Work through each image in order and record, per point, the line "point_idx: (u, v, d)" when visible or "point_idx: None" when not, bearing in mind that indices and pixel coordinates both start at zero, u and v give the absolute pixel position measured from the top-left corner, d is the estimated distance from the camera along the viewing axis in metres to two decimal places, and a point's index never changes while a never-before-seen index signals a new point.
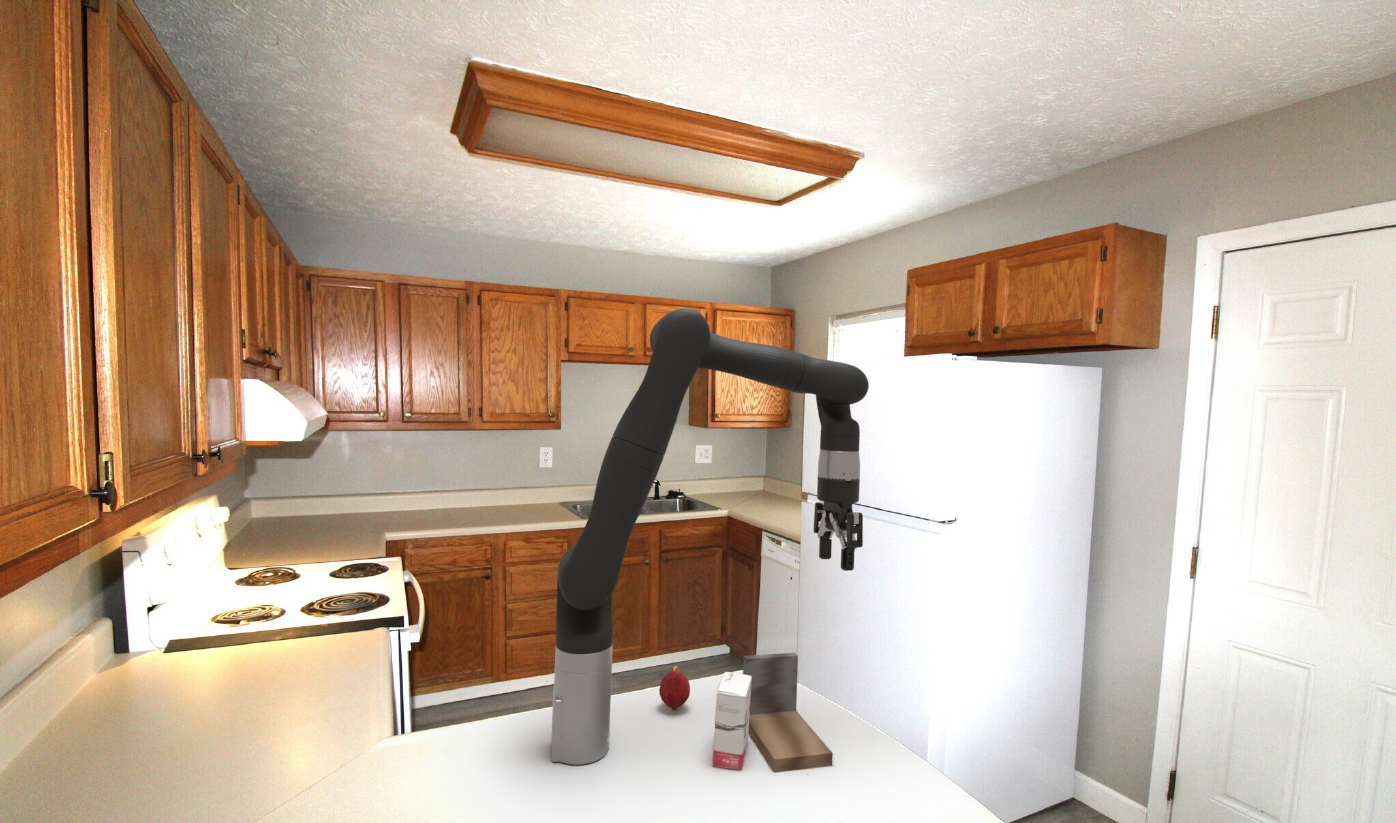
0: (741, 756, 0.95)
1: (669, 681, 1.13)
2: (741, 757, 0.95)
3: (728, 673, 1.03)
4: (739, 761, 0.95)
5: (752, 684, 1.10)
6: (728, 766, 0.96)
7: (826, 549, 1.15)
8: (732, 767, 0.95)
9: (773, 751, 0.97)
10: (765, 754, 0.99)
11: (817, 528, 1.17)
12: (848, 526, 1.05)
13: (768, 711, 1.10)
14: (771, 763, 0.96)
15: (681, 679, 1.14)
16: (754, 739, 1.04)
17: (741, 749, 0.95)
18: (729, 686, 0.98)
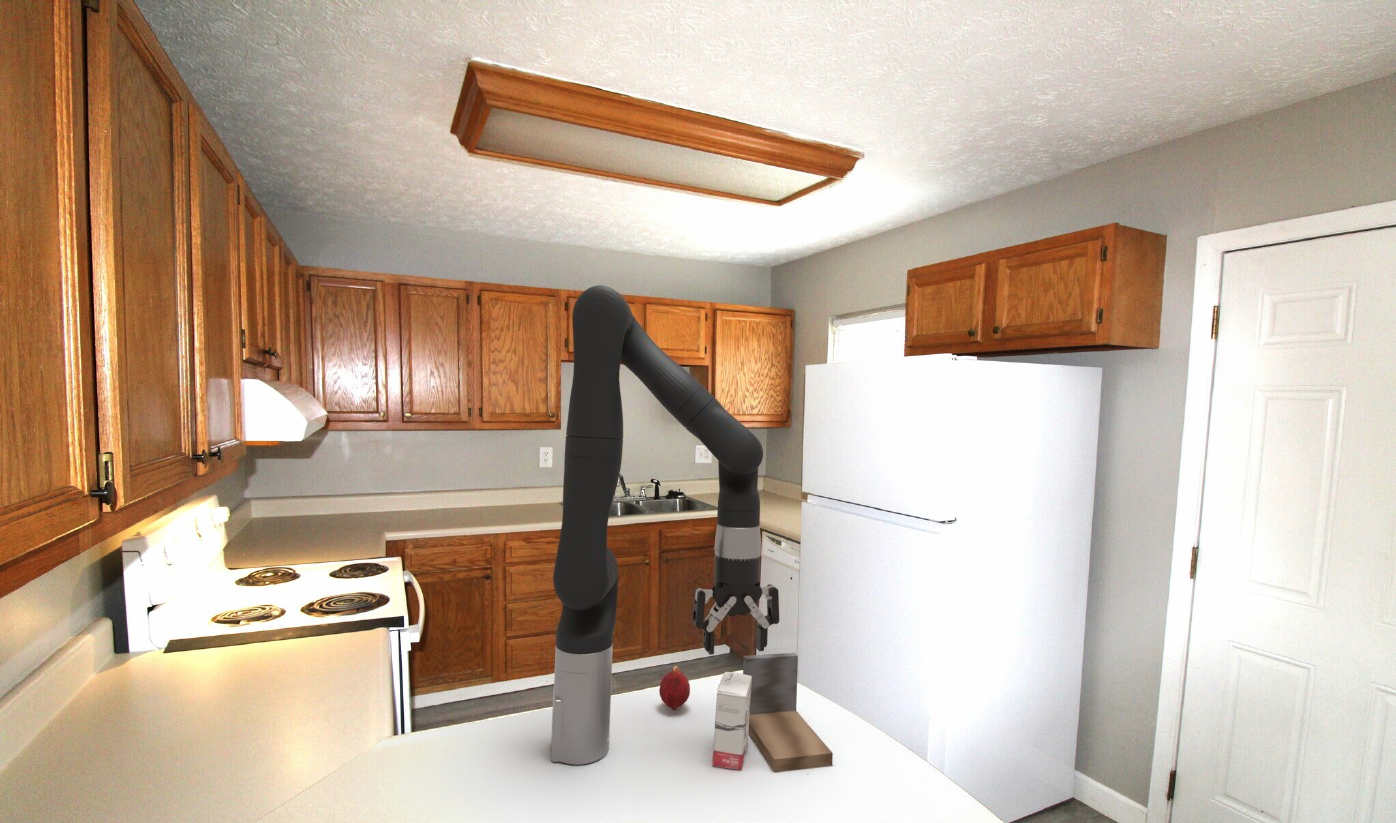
0: (741, 756, 0.95)
1: (669, 681, 1.13)
2: (741, 757, 0.95)
3: (728, 673, 1.03)
4: (739, 761, 0.95)
5: (752, 684, 1.10)
6: (728, 766, 0.96)
7: None
8: (732, 767, 0.95)
9: (773, 751, 0.97)
10: (765, 754, 0.99)
11: None
12: (776, 602, 1.01)
13: (768, 711, 1.10)
14: (771, 763, 0.96)
15: (681, 679, 1.14)
16: (754, 739, 1.04)
17: (741, 749, 0.95)
18: (729, 686, 0.98)
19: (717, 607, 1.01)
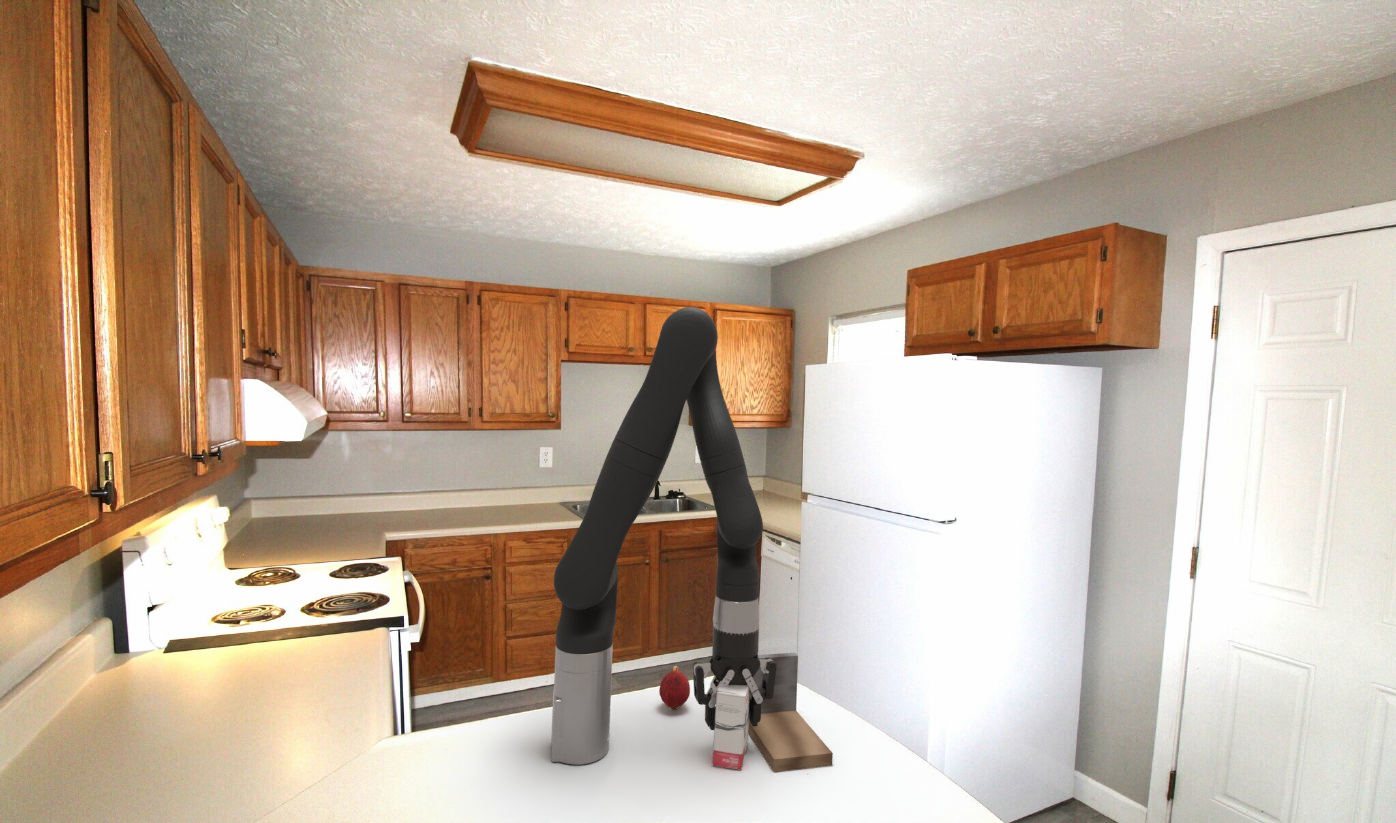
0: (741, 756, 0.95)
1: (669, 681, 1.13)
2: (741, 757, 0.95)
3: None
4: (739, 761, 0.95)
5: None
6: (728, 766, 0.96)
7: None
8: (732, 767, 0.96)
9: (773, 751, 0.97)
10: (765, 754, 0.99)
11: None
12: (772, 677, 1.00)
13: (768, 711, 1.10)
14: (771, 763, 0.96)
15: (681, 679, 1.14)
16: (754, 739, 1.04)
17: (741, 749, 0.95)
18: (729, 686, 0.98)
19: (717, 679, 1.01)
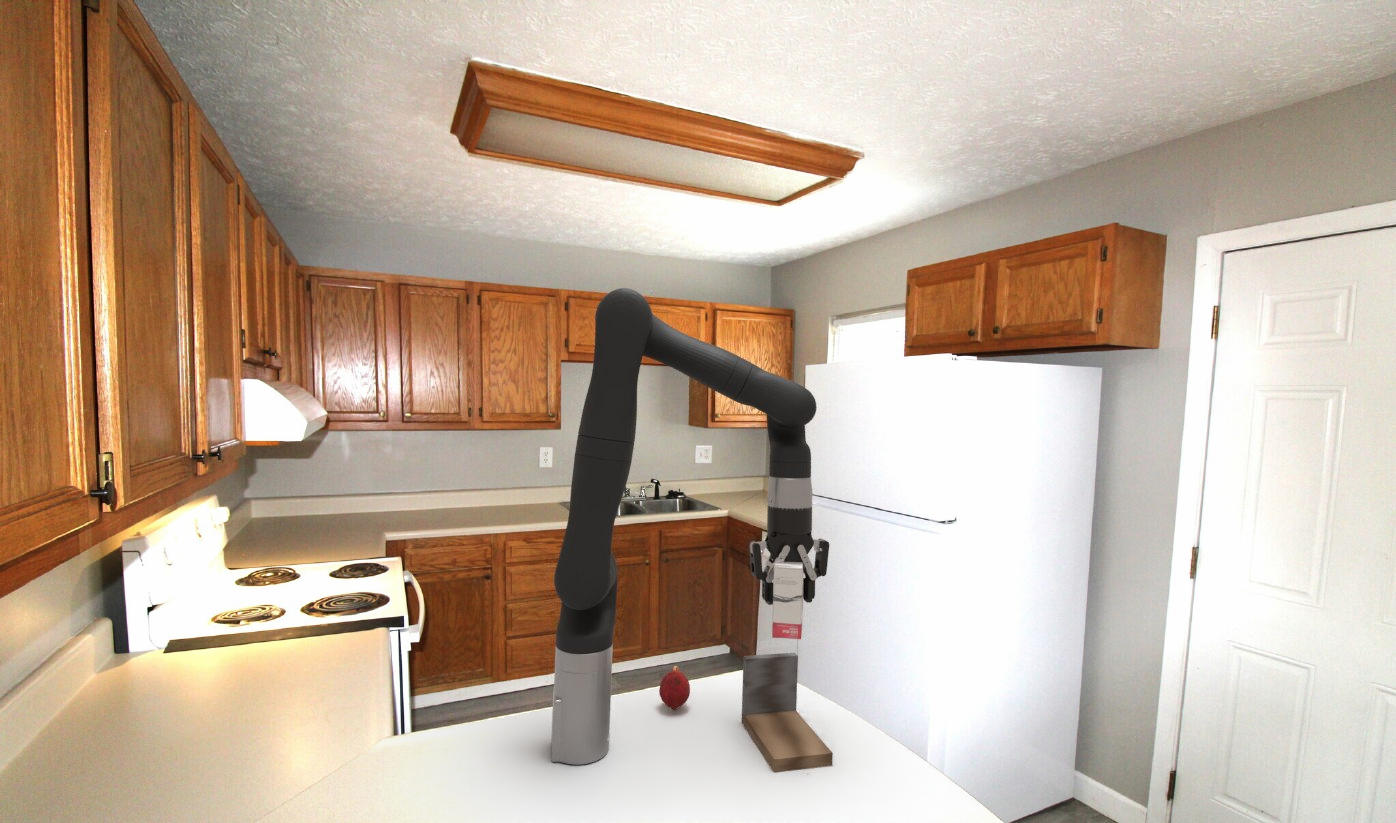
0: (800, 626, 0.99)
1: (669, 681, 1.13)
2: (800, 627, 0.99)
3: None
4: (798, 631, 0.99)
5: (752, 684, 1.10)
6: (788, 636, 0.99)
7: None
8: (792, 637, 0.99)
9: (773, 751, 0.97)
10: (765, 754, 0.99)
11: None
12: (825, 554, 1.04)
13: (768, 711, 1.10)
14: (771, 763, 0.96)
15: (681, 679, 1.14)
16: (754, 739, 1.04)
17: (800, 619, 0.99)
18: (784, 562, 1.01)
19: (772, 558, 1.04)
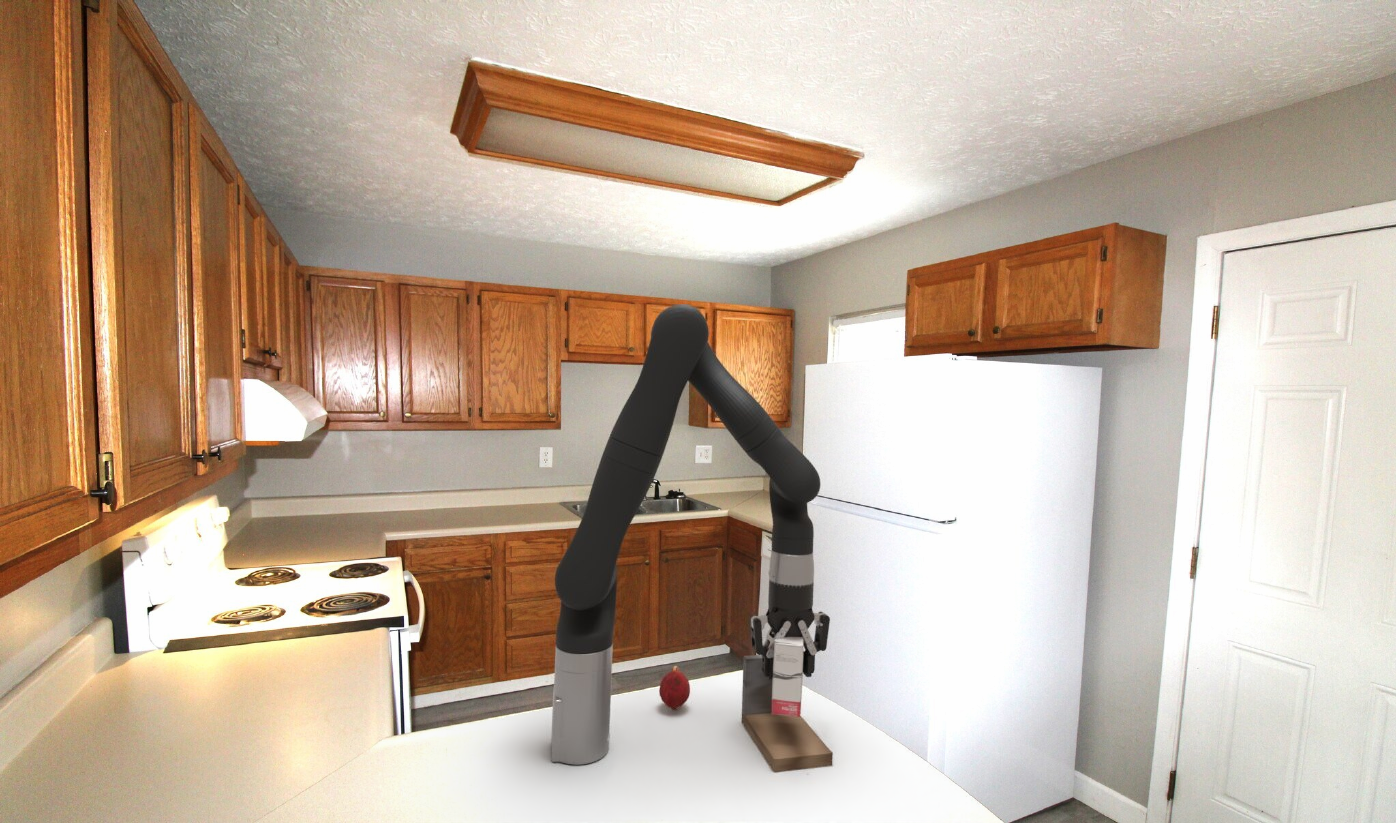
0: (800, 703, 0.99)
1: (669, 681, 1.13)
2: (800, 704, 0.99)
3: None
4: (798, 708, 0.99)
5: (752, 684, 1.10)
6: (787, 714, 0.99)
7: None
8: (791, 714, 0.99)
9: (773, 751, 0.97)
10: (765, 754, 0.99)
11: None
12: (826, 629, 1.04)
13: (768, 711, 1.10)
14: (771, 763, 0.96)
15: (681, 679, 1.14)
16: (754, 739, 1.04)
17: (799, 697, 0.99)
18: (785, 638, 1.02)
19: (772, 632, 1.04)
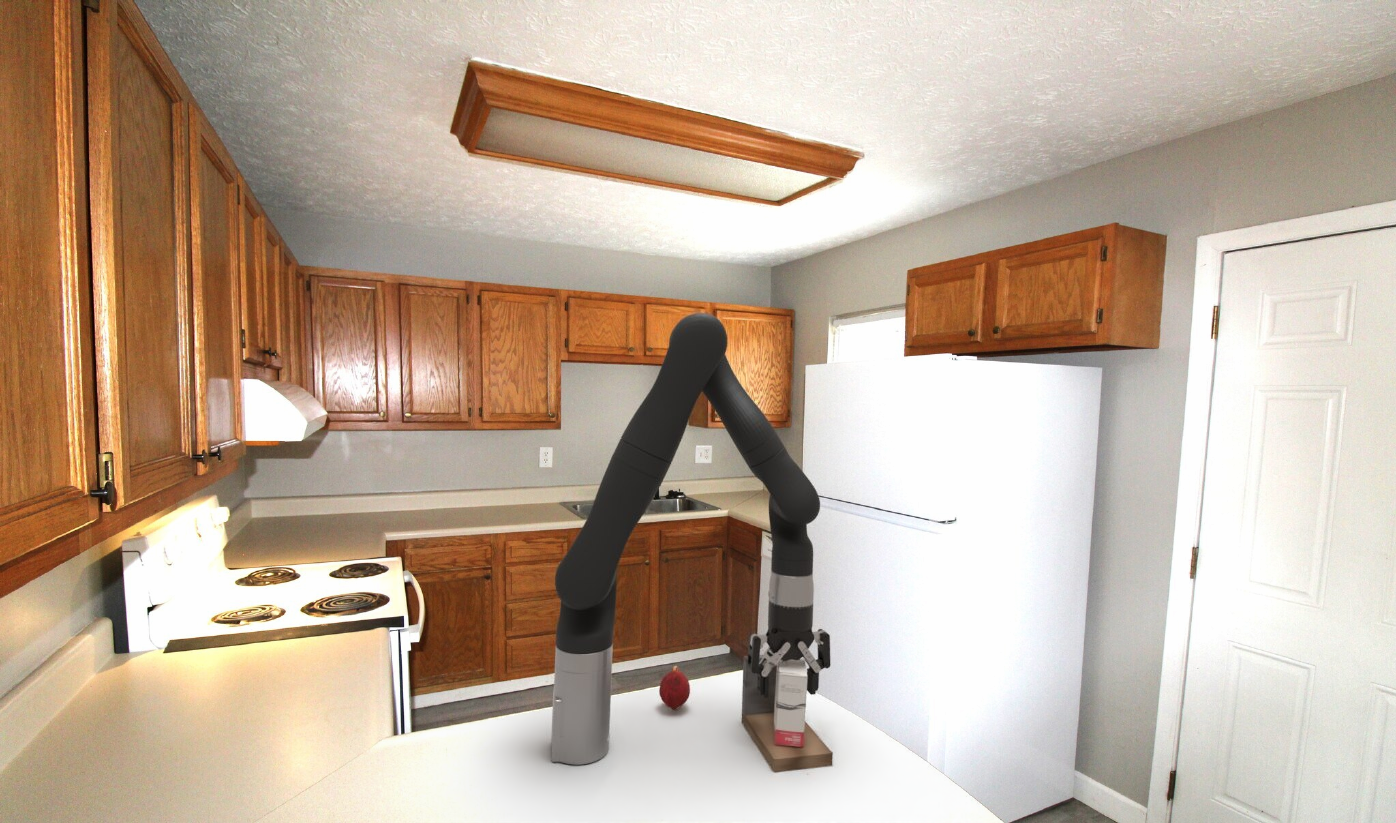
0: (803, 734, 0.99)
1: (669, 681, 1.13)
2: (803, 735, 0.99)
3: None
4: (801, 738, 0.99)
5: (752, 684, 1.10)
6: (790, 744, 0.99)
7: None
8: (794, 745, 0.99)
9: (773, 751, 0.97)
10: (765, 754, 0.99)
11: None
12: (827, 647, 1.04)
13: (768, 711, 1.10)
14: (771, 763, 0.96)
15: (681, 679, 1.14)
16: (754, 739, 1.04)
17: (803, 727, 0.99)
18: (788, 667, 1.01)
19: (770, 651, 1.04)
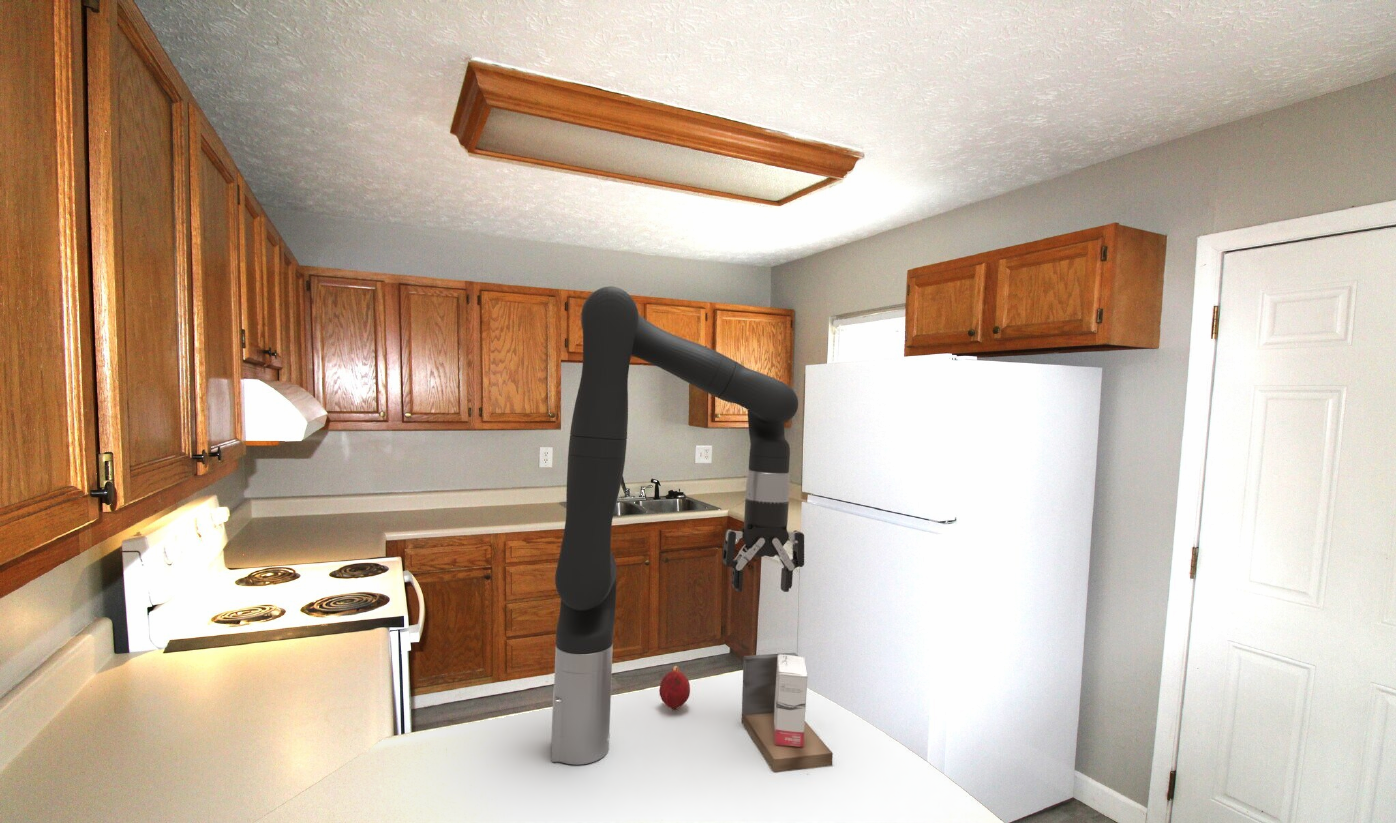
0: (803, 734, 0.99)
1: (669, 681, 1.13)
2: (803, 735, 0.99)
3: (782, 655, 1.07)
4: (801, 738, 0.99)
5: (752, 684, 1.10)
6: (790, 744, 0.99)
7: None
8: (794, 745, 0.99)
9: (773, 751, 0.97)
10: (765, 754, 0.99)
11: None
12: (801, 546, 1.06)
13: (768, 711, 1.10)
14: (771, 763, 0.96)
15: (681, 679, 1.14)
16: (754, 739, 1.04)
17: (803, 727, 0.99)
18: (788, 667, 1.01)
19: (746, 549, 1.07)
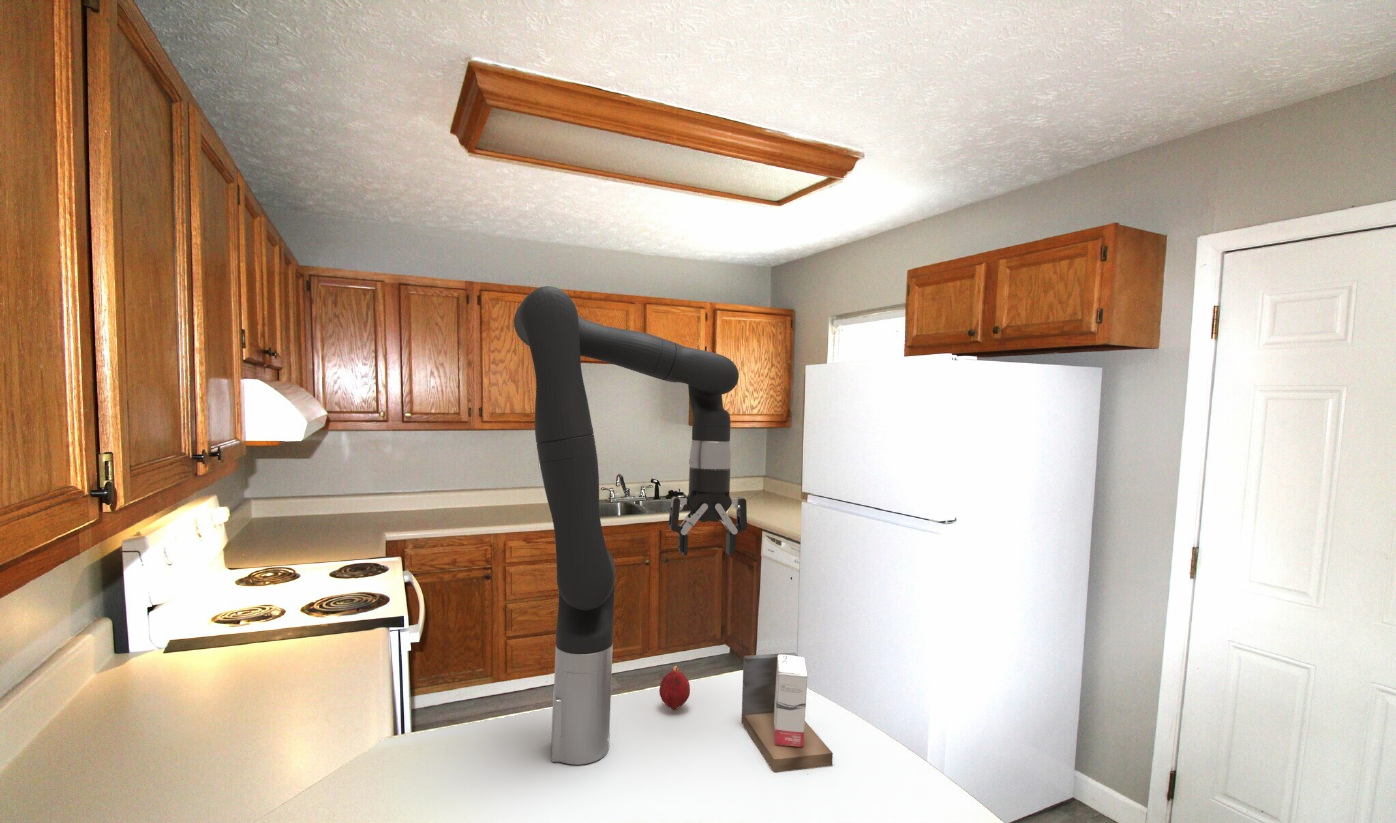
0: (803, 734, 0.99)
1: (669, 681, 1.13)
2: (803, 735, 0.99)
3: (782, 655, 1.07)
4: (801, 739, 0.99)
5: (752, 684, 1.10)
6: (790, 744, 0.99)
7: None
8: (794, 745, 0.99)
9: (773, 751, 0.97)
10: (765, 754, 0.99)
11: None
12: (744, 511, 1.12)
13: (768, 711, 1.10)
14: (771, 763, 0.96)
15: (681, 679, 1.14)
16: (754, 739, 1.04)
17: (803, 727, 0.99)
18: (788, 667, 1.01)
19: (691, 515, 1.12)
